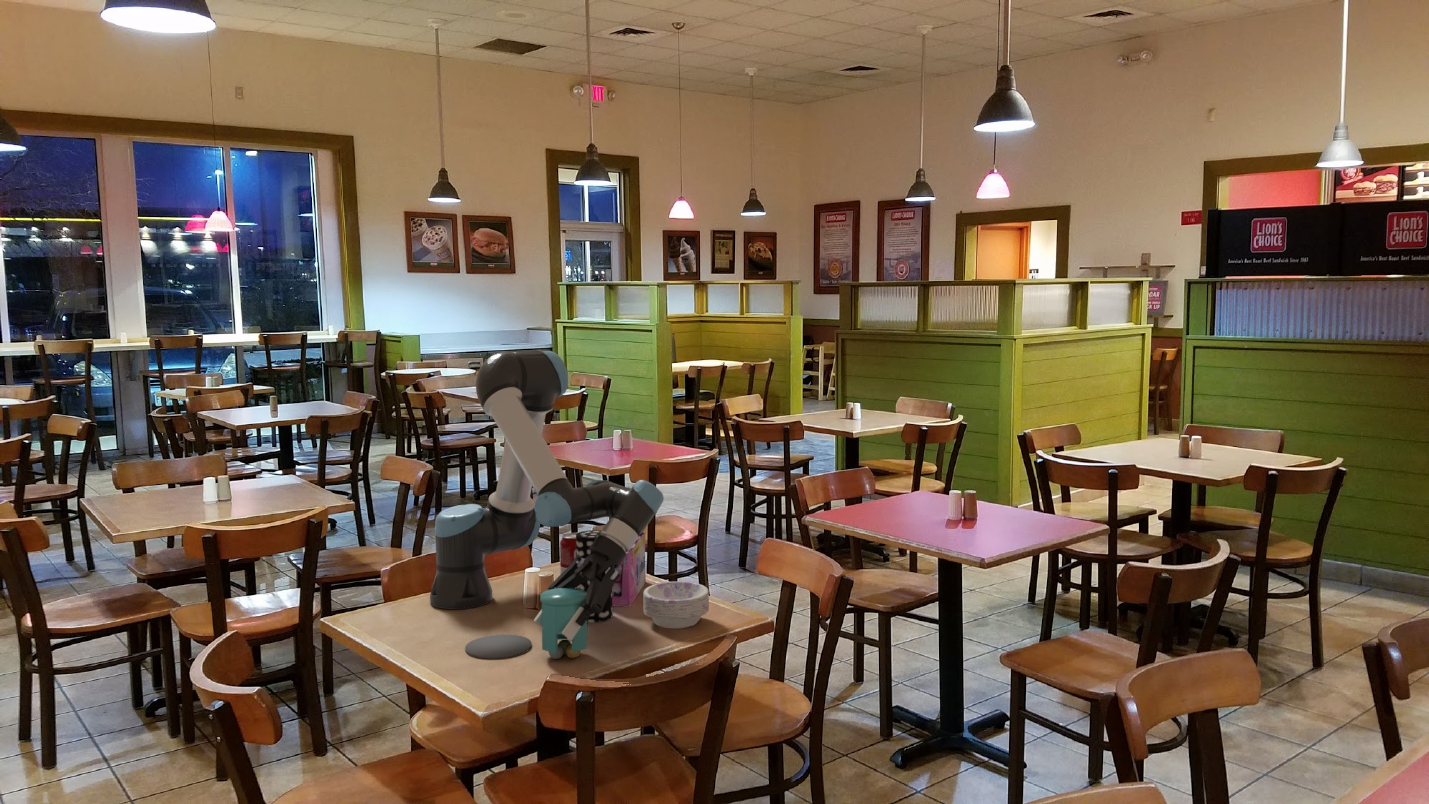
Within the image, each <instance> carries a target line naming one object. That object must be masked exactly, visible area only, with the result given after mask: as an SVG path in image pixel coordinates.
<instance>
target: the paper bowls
mask: <svg viewBox="0 0 1429 804" xmlns="http://www.w3.org/2000/svg"><path fill="white" fill-rule="evenodd" d="M709 594H710V592H709V589H708V587H707V586H705V585H703V584H700V583H698V582H691V581H666V582H665V581H664V582H659V583H658V582H657V583H654V584H652V585H649V586H648V587H646V588H645V589H644V590H643V597H642V599H643V614H644V615H645V616H646V617H650V618H652V619H651V620H652V621H653V623H654V624H655V625H657V626H658V627H660V628H662V629H663V628H664V629H669V630H679V629H687V628H690V626H691V627H693V626H695V625H697V623H698V622H699V621H700V619H701V617H702V616H704V615H706V614H707V613H708V612H709V610H710V596H709Z"/></svg>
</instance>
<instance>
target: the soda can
mask: <svg viewBox="0 0 1429 804" xmlns="http://www.w3.org/2000/svg"><path fill="white" fill-rule="evenodd" d="M577 533H578V532H570V533H569V532H567V533H564V534H562V535H561V537H562V538H561V540H560V541H559V557H560V558H559V566H560V567H559V568H560V571H559V572H560V573H559V574H560V575H561V574H562V573H563V572H564V571H565V570H566V569H567V568H568V567H569V566H570V565H571V564H572V562H573V561H574V559H575V558H576V534H577ZM560 575H559V576H560Z"/></svg>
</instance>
